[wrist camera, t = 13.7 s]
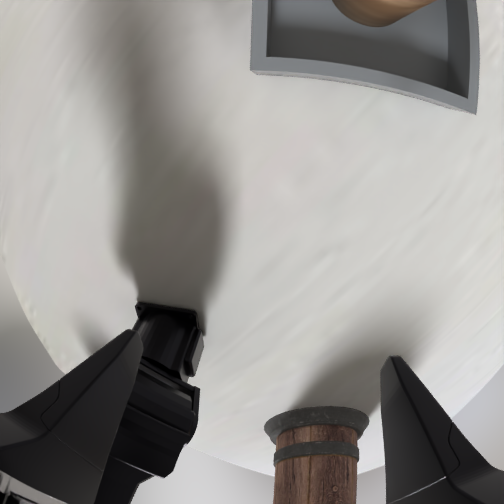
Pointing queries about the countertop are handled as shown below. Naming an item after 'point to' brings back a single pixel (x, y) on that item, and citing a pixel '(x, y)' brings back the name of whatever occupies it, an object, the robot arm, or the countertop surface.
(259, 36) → the tote
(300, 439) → the tankard
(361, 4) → the walnut cylinder
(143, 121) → the countertop surface
